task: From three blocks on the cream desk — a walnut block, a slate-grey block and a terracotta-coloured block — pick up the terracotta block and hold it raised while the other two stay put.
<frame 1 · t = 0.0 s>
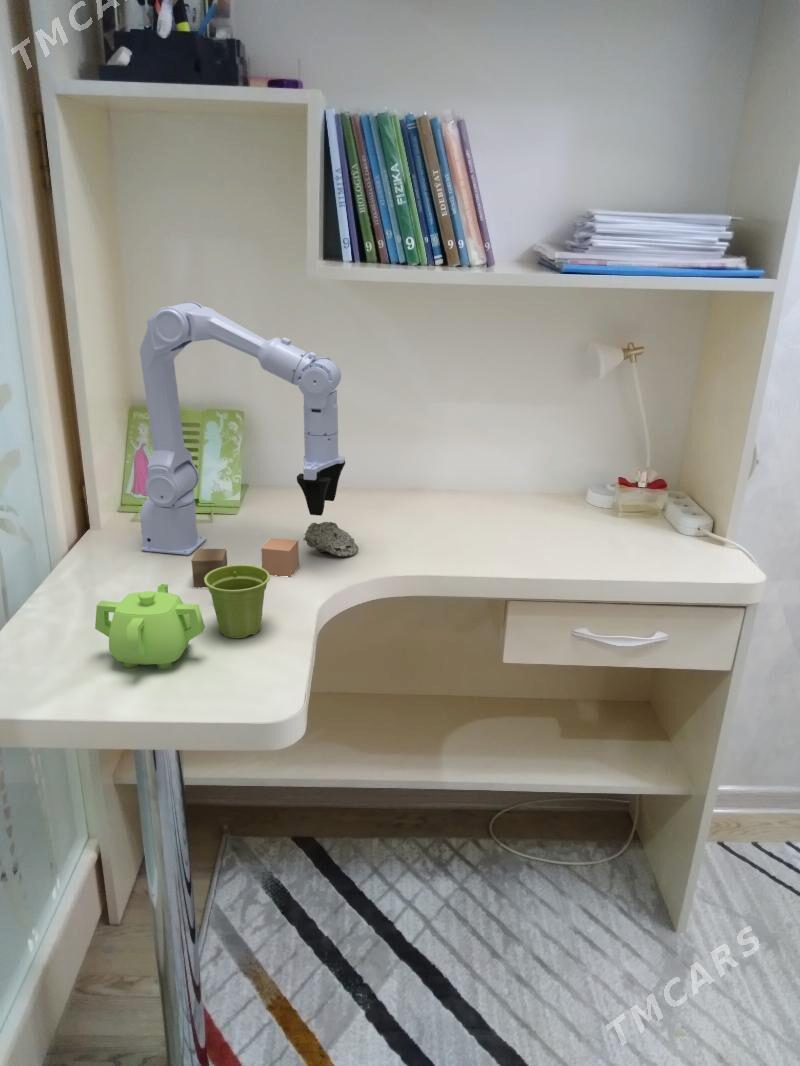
hand: (322, 507, 145), 10 cm above the table, tool pointing down, fingers open, 7 cm apart
rock sample: (336, 552, 153), on the table
plant pot: (240, 630, 124), on the table
grey block: (237, 601, 133), on the table
terracotta block: (281, 570, 144), on the table
green handled lidded container: (153, 656, 116), on the table
walnut block: (211, 581, 139), on the table
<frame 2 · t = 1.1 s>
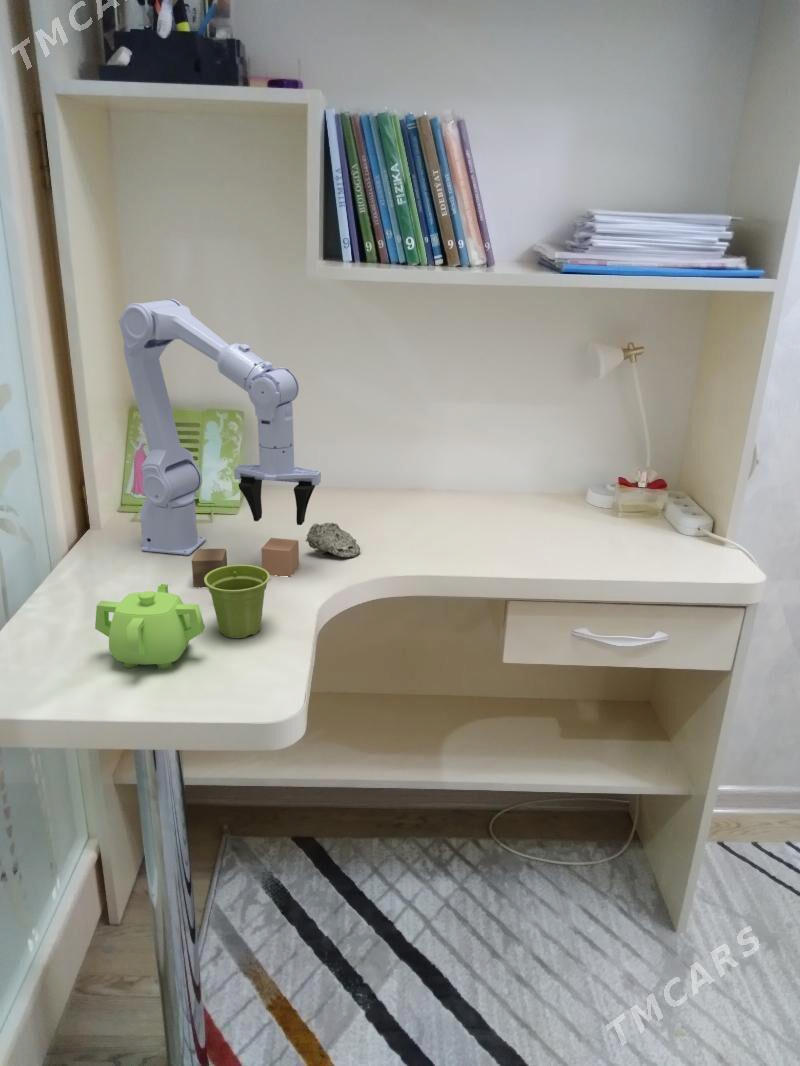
hand: (279, 521, 141), 9 cm above the table, tool pointing down, fingers open, 7 cm apart
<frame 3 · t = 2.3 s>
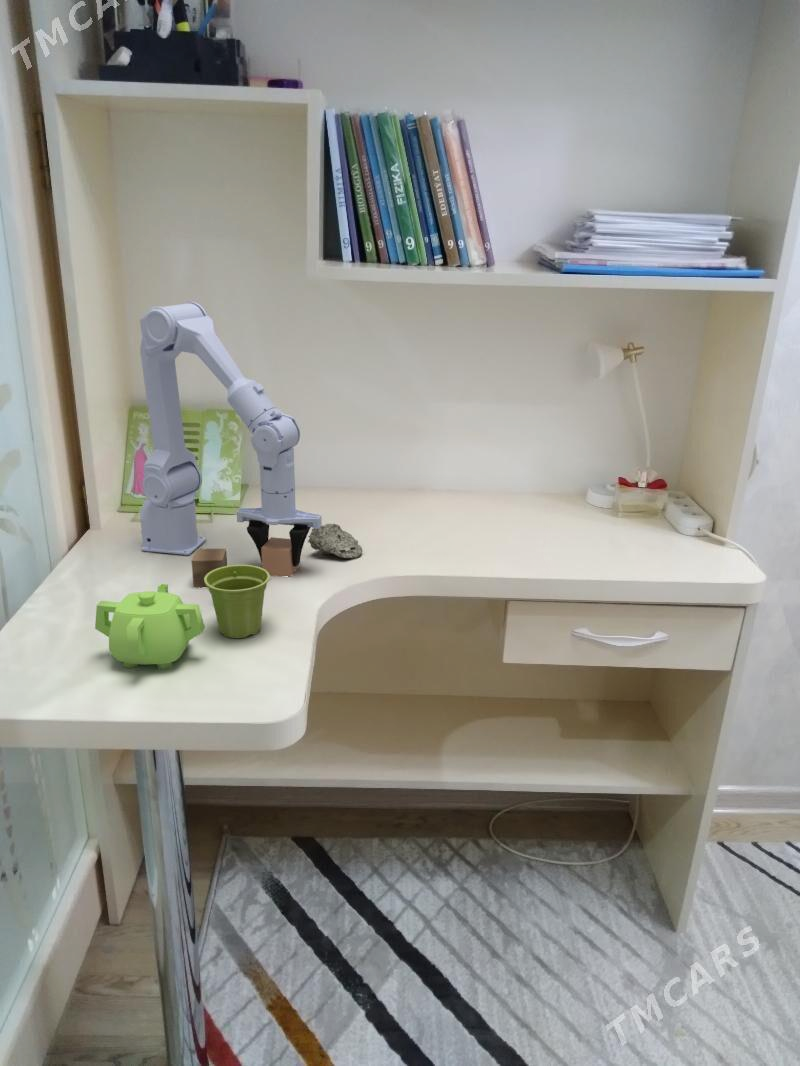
hand: (280, 562, 144), 1 cm above the table, tool pointing down, fingers closed on terracotta block, 5 cm apart
terracotta block: (281, 570, 144), on the table, touching gripper
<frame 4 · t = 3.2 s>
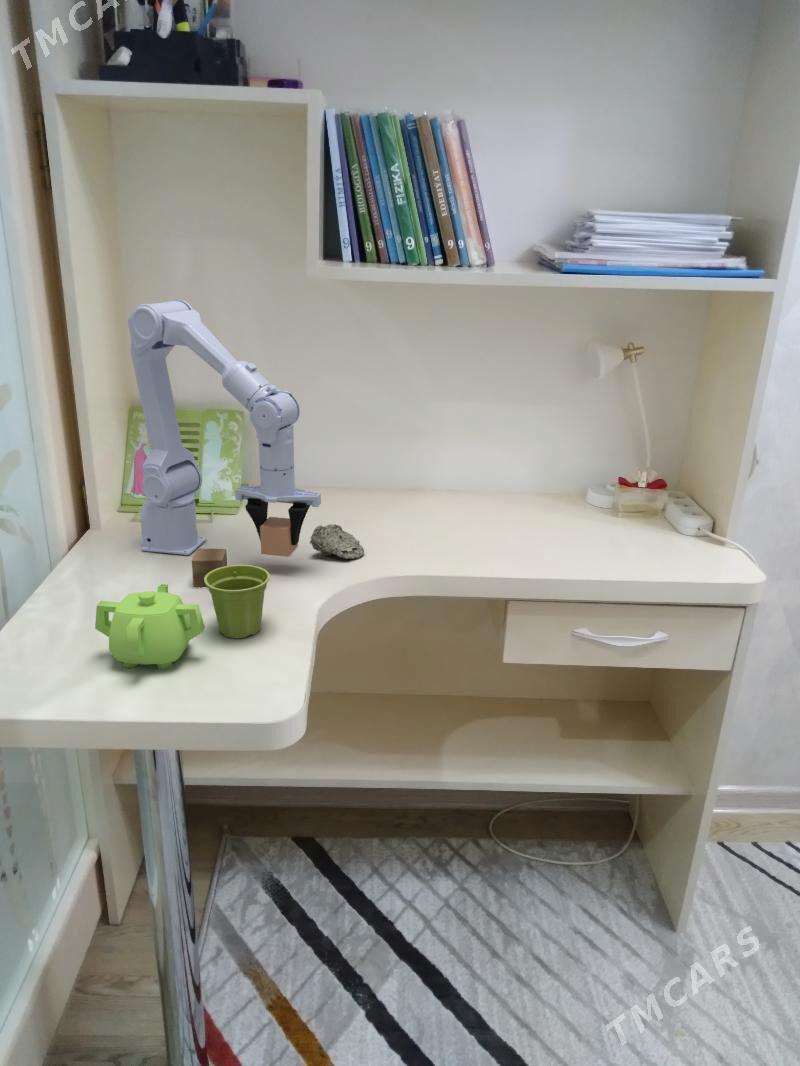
hand: (279, 541, 142), 5 cm above the table, tool pointing down, fingers closed on terracotta block, 5 cm apart
terracotta block: (279, 549, 143), point 4 cm above the table, touching gripper
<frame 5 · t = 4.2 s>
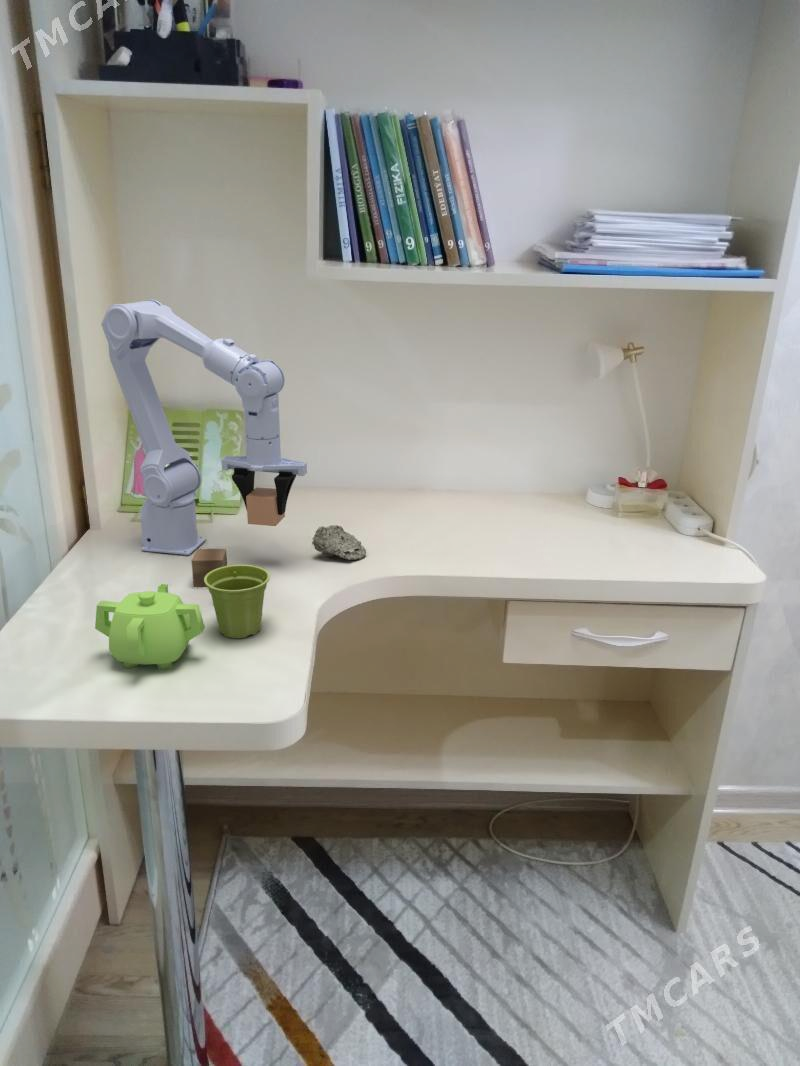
hand: (266, 511, 143), 10 cm above the table, tool pointing down, fingers closed on terracotta block, 5 cm apart
terracotta block: (266, 520, 143), point 8 cm above the table, touching gripper
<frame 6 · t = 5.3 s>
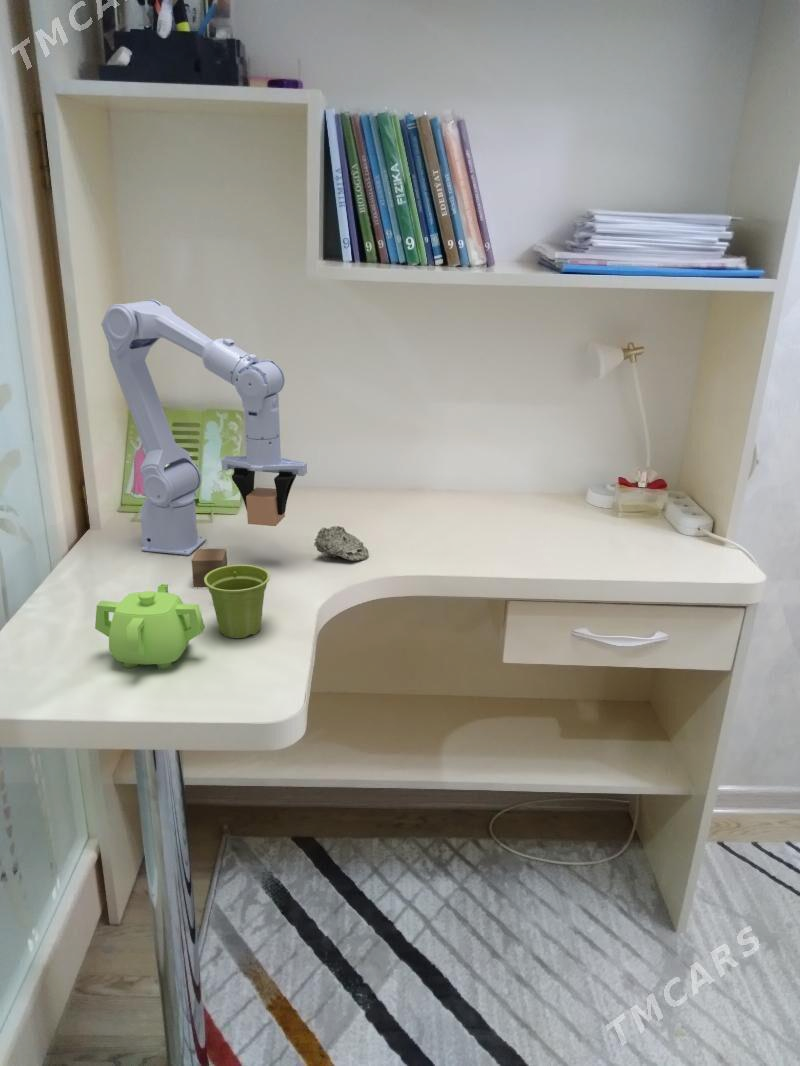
hand: (266, 511, 143), 10 cm above the table, tool pointing down, fingers closed on terracotta block, 5 cm apart
terracotta block: (266, 520, 143), point 8 cm above the table, touching gripper
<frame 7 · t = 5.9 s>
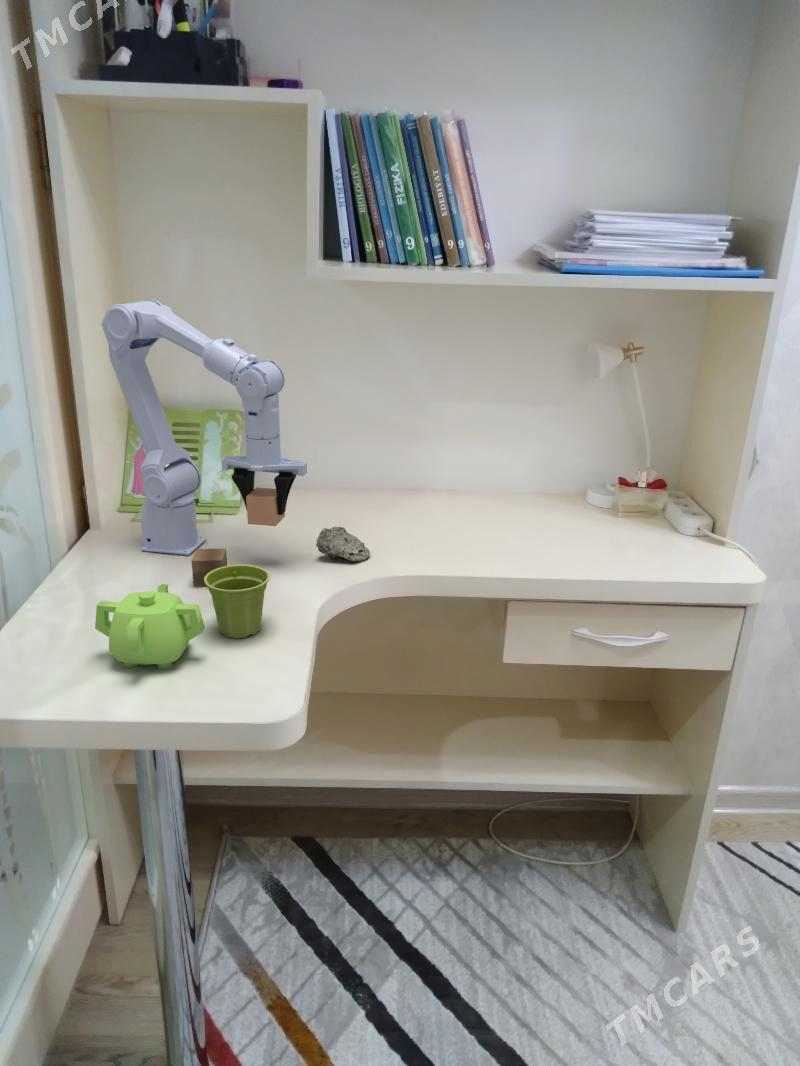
hand: (266, 511, 143), 10 cm above the table, tool pointing down, fingers closed on terracotta block, 5 cm apart
terracotta block: (266, 520, 143), point 8 cm above the table, touching gripper
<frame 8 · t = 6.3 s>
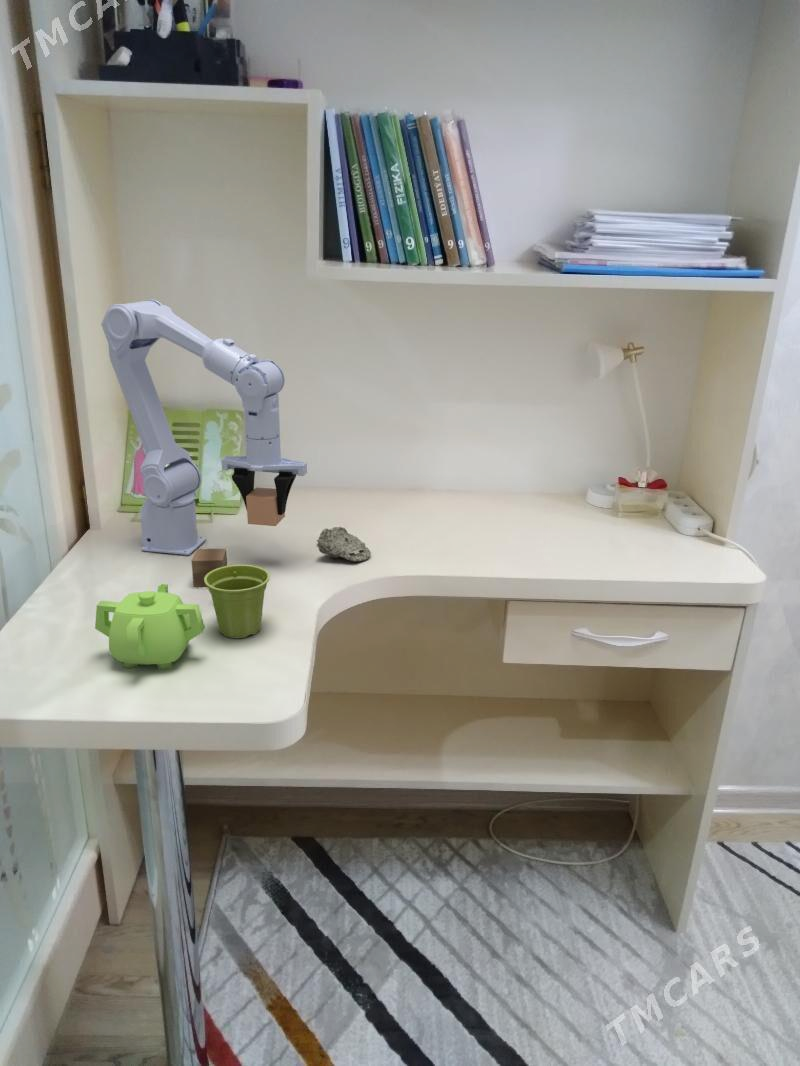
hand: (266, 511, 143), 10 cm above the table, tool pointing down, fingers closed on terracotta block, 5 cm apart
terracotta block: (266, 520, 143), point 8 cm above the table, touching gripper
at the end: the gripper is holding terracotta block; terracotta block point 8.3 cm above the table; walnut block moved 0.1 cm from its start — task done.
